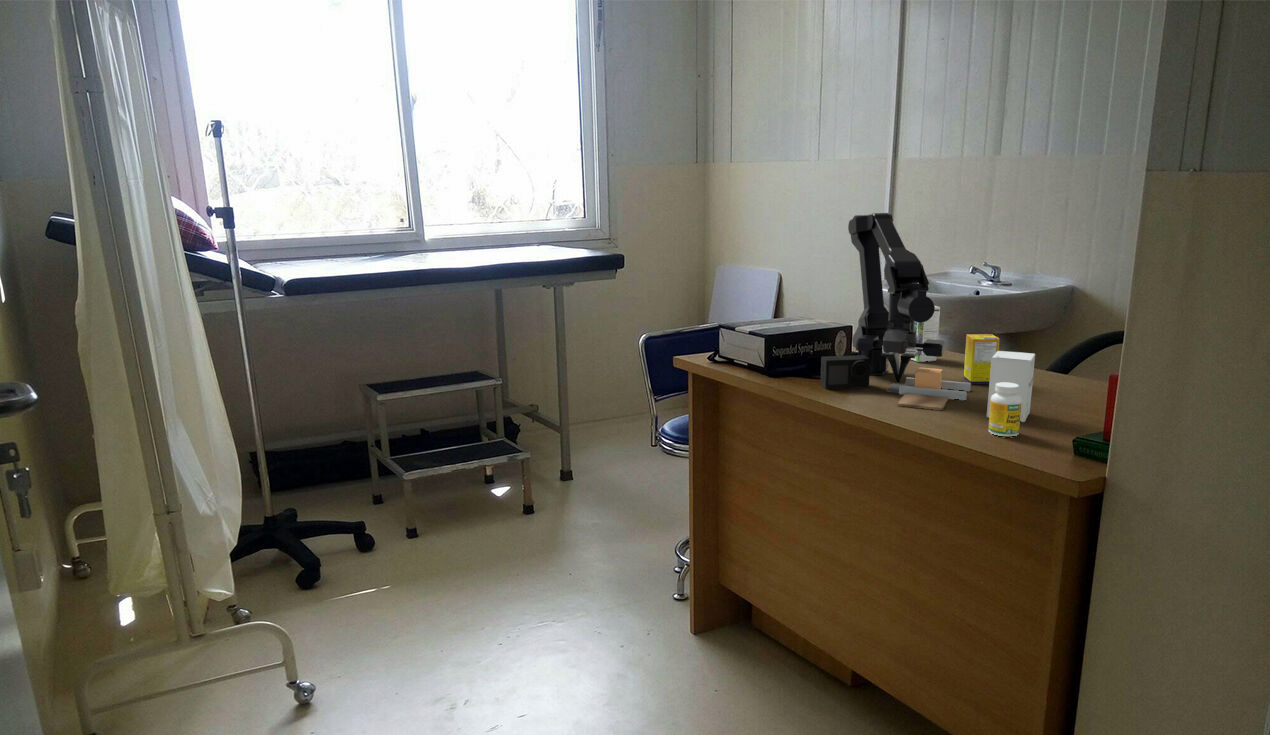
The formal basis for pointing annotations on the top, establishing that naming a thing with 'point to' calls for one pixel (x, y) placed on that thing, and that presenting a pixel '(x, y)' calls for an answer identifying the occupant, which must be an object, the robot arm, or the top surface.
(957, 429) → the top surface
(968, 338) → the supplement box
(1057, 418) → the top surface
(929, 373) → the block
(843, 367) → the digital camera
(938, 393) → the channel
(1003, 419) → the supplement bottle
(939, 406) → the coaster
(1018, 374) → the supplement box
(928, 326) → the syrup box
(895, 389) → the mat
